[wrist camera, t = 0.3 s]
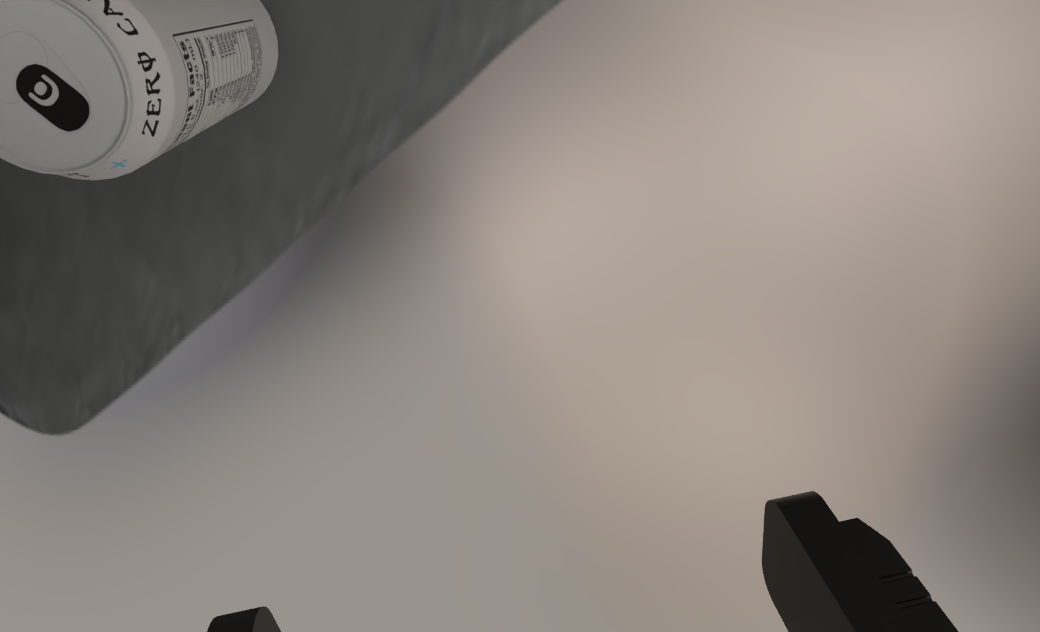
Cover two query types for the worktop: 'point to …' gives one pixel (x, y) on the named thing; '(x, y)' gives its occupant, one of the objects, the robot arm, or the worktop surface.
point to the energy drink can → (124, 78)
